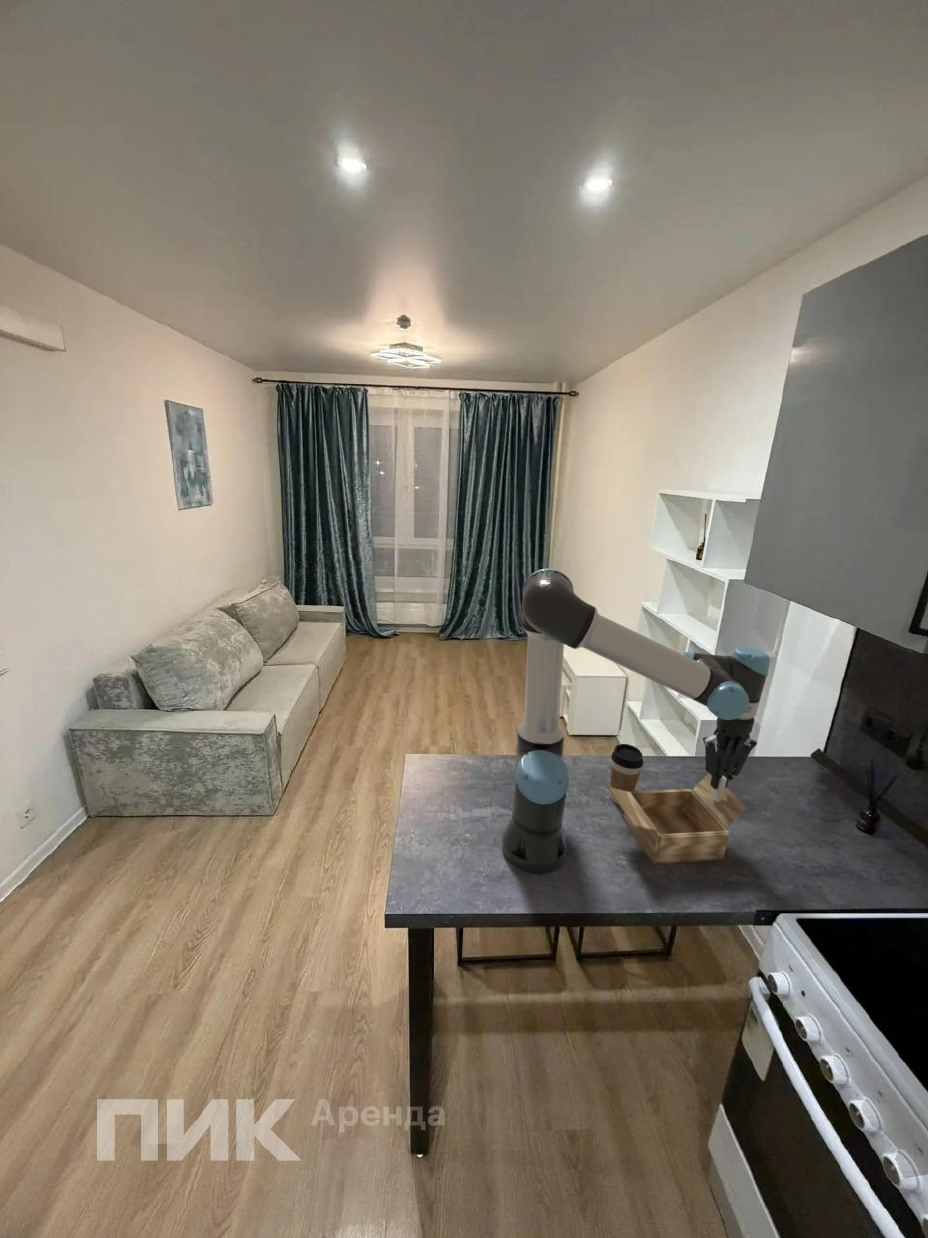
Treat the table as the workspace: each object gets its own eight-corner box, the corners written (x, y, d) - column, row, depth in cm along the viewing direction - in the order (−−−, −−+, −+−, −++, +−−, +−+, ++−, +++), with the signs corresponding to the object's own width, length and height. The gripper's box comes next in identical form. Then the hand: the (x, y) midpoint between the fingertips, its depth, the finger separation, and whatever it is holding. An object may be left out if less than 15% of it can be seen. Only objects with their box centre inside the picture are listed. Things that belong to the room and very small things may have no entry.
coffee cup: (632, 790, 144) (640, 744, 139) (639, 809, 135) (648, 762, 131) (602, 787, 144) (610, 741, 140) (607, 806, 136) (615, 758, 132)
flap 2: (726, 826, 118) (746, 807, 117) (692, 789, 131) (710, 771, 130) (727, 827, 118) (747, 807, 117) (693, 790, 131) (710, 772, 130)
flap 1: (657, 832, 115) (633, 826, 114) (629, 793, 128) (608, 788, 127) (657, 830, 115) (634, 825, 114) (630, 792, 128) (608, 786, 127)
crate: (653, 866, 116) (659, 837, 114) (622, 817, 132) (626, 791, 130) (724, 861, 119) (731, 833, 117) (684, 813, 135) (690, 788, 133)
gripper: (722, 721, 112) (700, 809, 119) (773, 720, 114) (748, 807, 121) (702, 705, 119) (682, 789, 126) (751, 705, 121) (729, 788, 128)
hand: (715, 798), depth 124 cm, fingers closed
